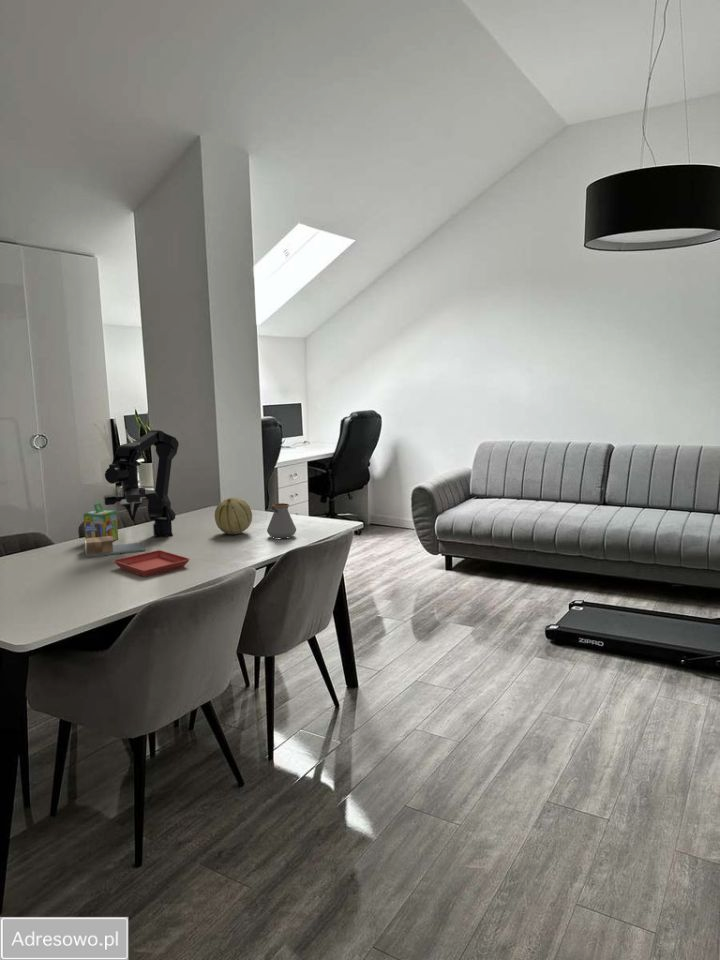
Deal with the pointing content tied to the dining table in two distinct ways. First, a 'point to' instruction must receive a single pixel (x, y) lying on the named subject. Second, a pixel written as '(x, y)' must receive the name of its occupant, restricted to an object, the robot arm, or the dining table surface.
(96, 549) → the block
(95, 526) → the colorful printed box
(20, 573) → the dining table surface
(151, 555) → the plant saucer
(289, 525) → the coffee pot
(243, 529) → the cantaloupe
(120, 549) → the mat
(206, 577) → the dining table surface
